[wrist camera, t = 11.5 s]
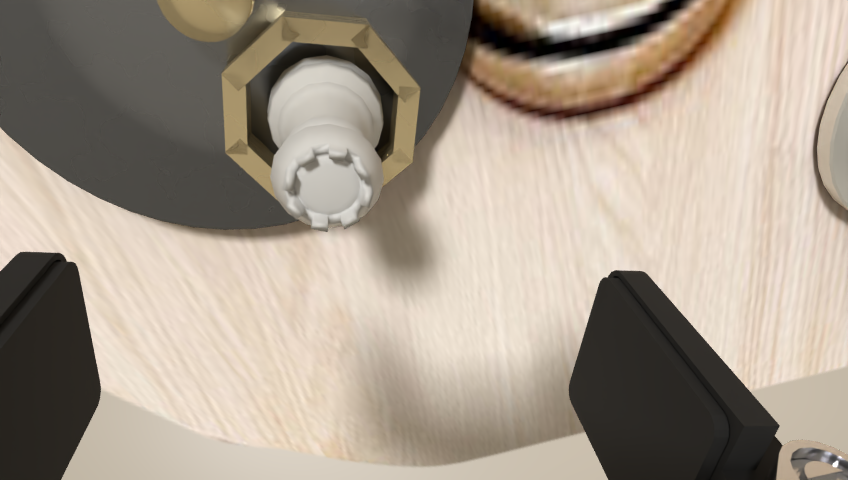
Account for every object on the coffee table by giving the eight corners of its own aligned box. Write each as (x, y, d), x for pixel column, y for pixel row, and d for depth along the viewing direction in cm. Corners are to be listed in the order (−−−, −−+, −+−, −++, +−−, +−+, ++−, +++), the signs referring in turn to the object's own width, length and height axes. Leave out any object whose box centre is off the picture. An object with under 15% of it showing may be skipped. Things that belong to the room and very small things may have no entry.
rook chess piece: (354, 179, 25) (366, 280, 18) (251, 136, 23) (221, 229, 16) (401, 84, 23) (435, 154, 16) (294, 31, 21) (281, 83, 15)
